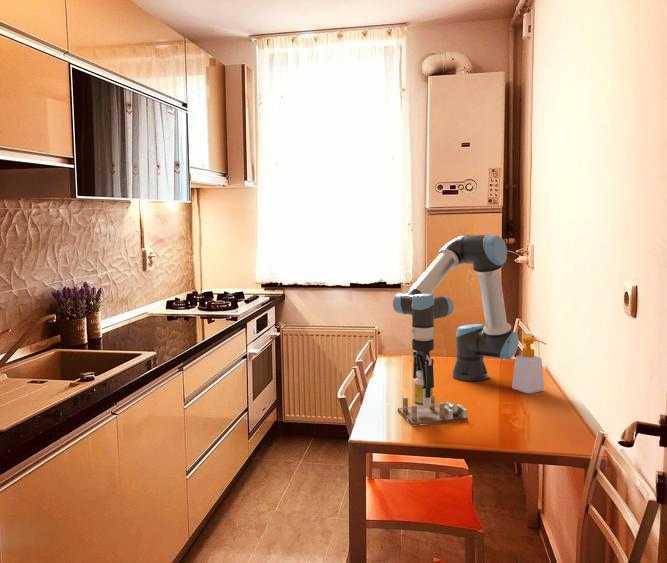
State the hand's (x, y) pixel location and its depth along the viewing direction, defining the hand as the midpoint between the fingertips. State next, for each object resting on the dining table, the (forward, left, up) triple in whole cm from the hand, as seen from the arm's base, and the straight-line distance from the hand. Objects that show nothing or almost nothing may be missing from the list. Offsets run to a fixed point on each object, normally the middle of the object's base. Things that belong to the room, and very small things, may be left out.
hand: (423, 402), depth 201 cm
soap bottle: (-17, +53, -6) cm, 56 cm away
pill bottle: (0, 0, -1) cm, 1 cm away
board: (-1, +4, -5) cm, 7 cm away
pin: (+2, +10, -4) cm, 11 cm away
